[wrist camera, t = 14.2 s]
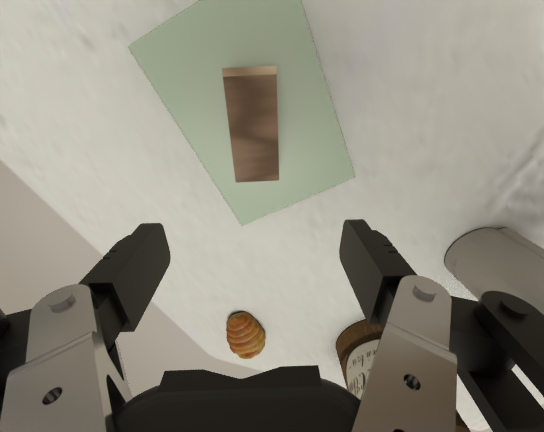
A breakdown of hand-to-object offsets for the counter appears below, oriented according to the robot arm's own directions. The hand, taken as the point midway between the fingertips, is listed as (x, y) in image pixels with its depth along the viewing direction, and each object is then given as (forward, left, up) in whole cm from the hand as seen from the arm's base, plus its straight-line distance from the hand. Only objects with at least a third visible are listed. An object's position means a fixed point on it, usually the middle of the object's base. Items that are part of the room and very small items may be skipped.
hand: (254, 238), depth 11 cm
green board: (-1, -2, -20) cm, 20 cm away
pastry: (+18, +29, -20) cm, 40 cm away
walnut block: (+1, +2, -17) cm, 17 cm away
